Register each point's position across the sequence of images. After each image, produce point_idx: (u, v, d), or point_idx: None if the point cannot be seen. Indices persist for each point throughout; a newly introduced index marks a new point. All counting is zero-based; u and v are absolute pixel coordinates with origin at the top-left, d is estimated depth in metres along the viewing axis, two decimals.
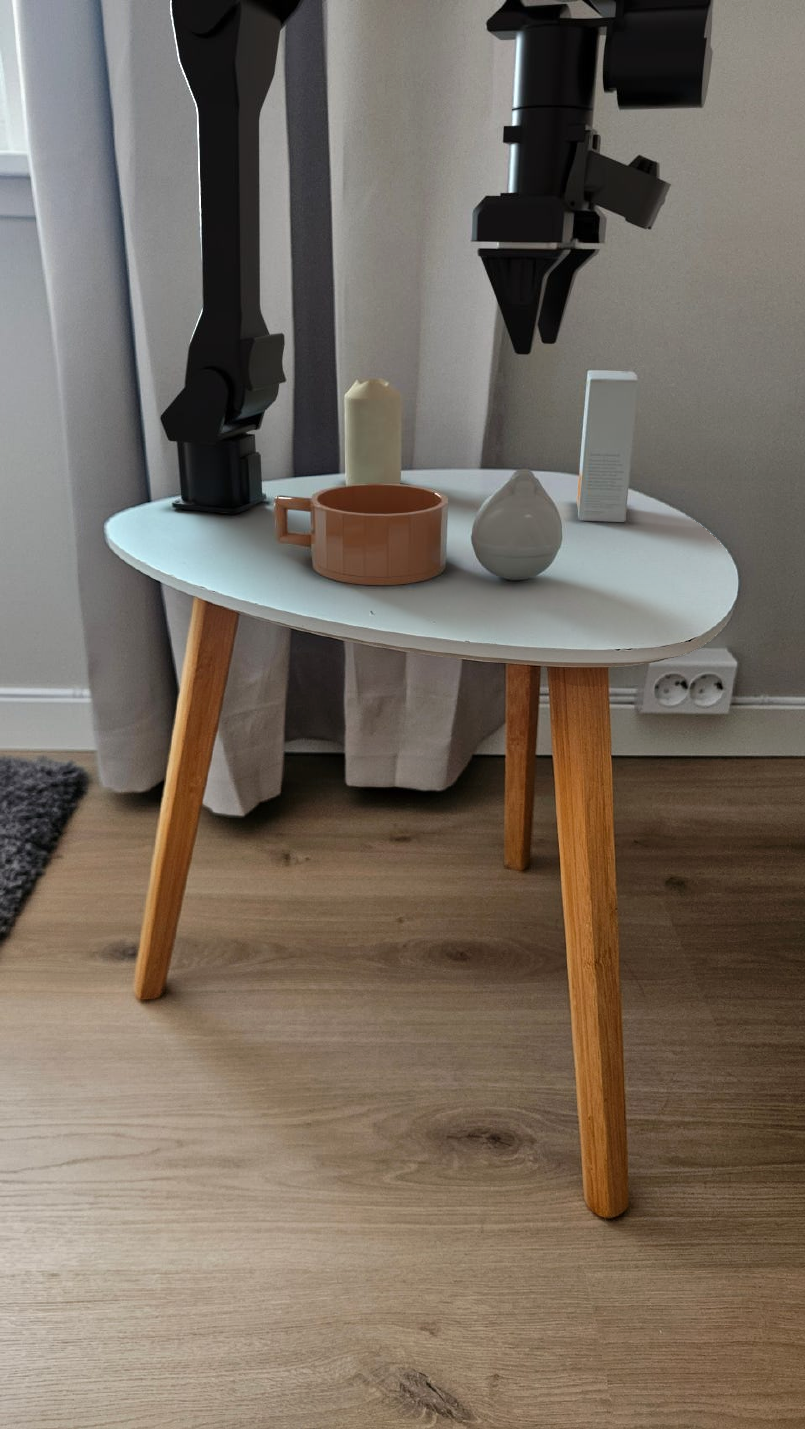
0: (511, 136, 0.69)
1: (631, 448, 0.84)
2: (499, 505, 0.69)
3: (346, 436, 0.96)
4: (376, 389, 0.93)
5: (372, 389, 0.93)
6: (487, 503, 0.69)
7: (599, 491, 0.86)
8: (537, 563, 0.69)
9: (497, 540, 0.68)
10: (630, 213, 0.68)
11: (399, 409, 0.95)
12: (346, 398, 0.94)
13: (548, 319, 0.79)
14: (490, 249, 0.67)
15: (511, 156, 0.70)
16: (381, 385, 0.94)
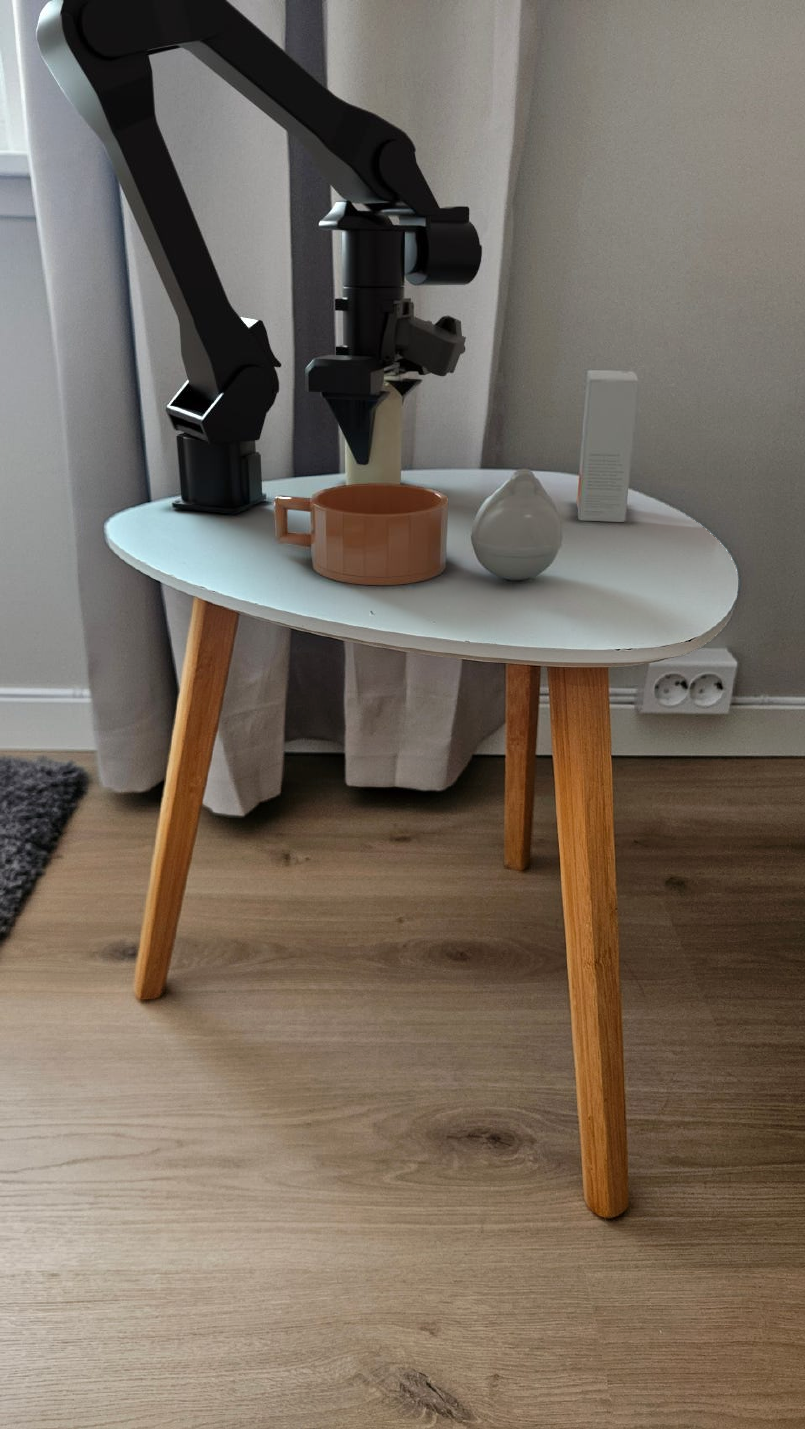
0: (340, 306, 0.91)
1: (631, 448, 0.84)
2: (499, 505, 0.69)
3: None
4: None
5: None
6: (487, 503, 0.69)
7: (599, 491, 0.86)
8: (537, 563, 0.69)
9: (497, 540, 0.68)
10: (430, 365, 0.90)
11: (399, 409, 0.95)
12: None
13: None
14: (329, 393, 0.90)
15: (343, 319, 0.92)
16: None
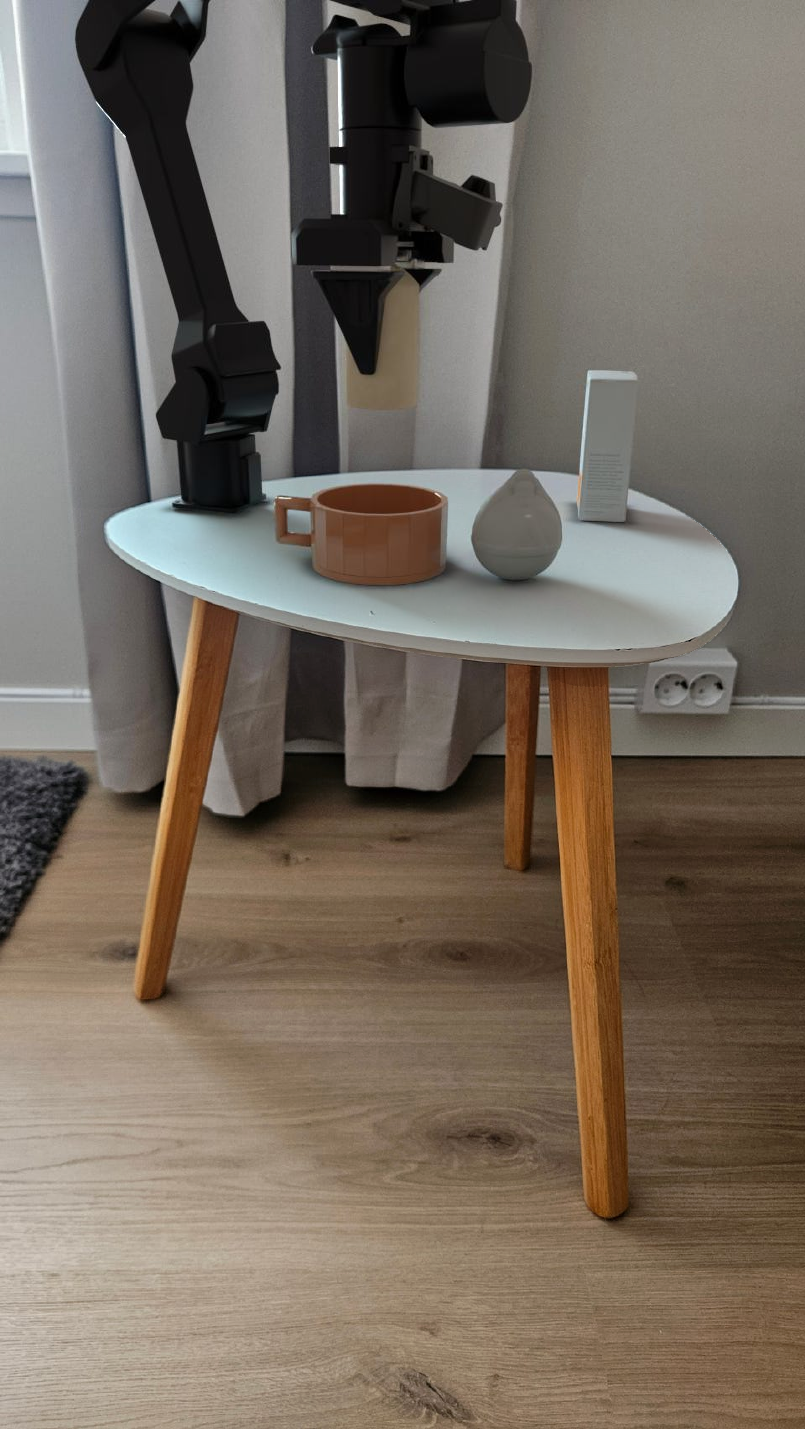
0: (337, 157, 0.68)
1: (631, 448, 0.84)
2: (499, 505, 0.69)
3: None
4: None
5: None
6: (487, 503, 0.69)
7: (599, 491, 0.86)
8: (537, 563, 0.69)
9: (497, 540, 0.68)
10: (458, 234, 0.67)
11: (416, 301, 0.72)
12: None
13: None
14: (323, 272, 0.67)
15: (340, 177, 0.69)
16: (393, 268, 0.71)
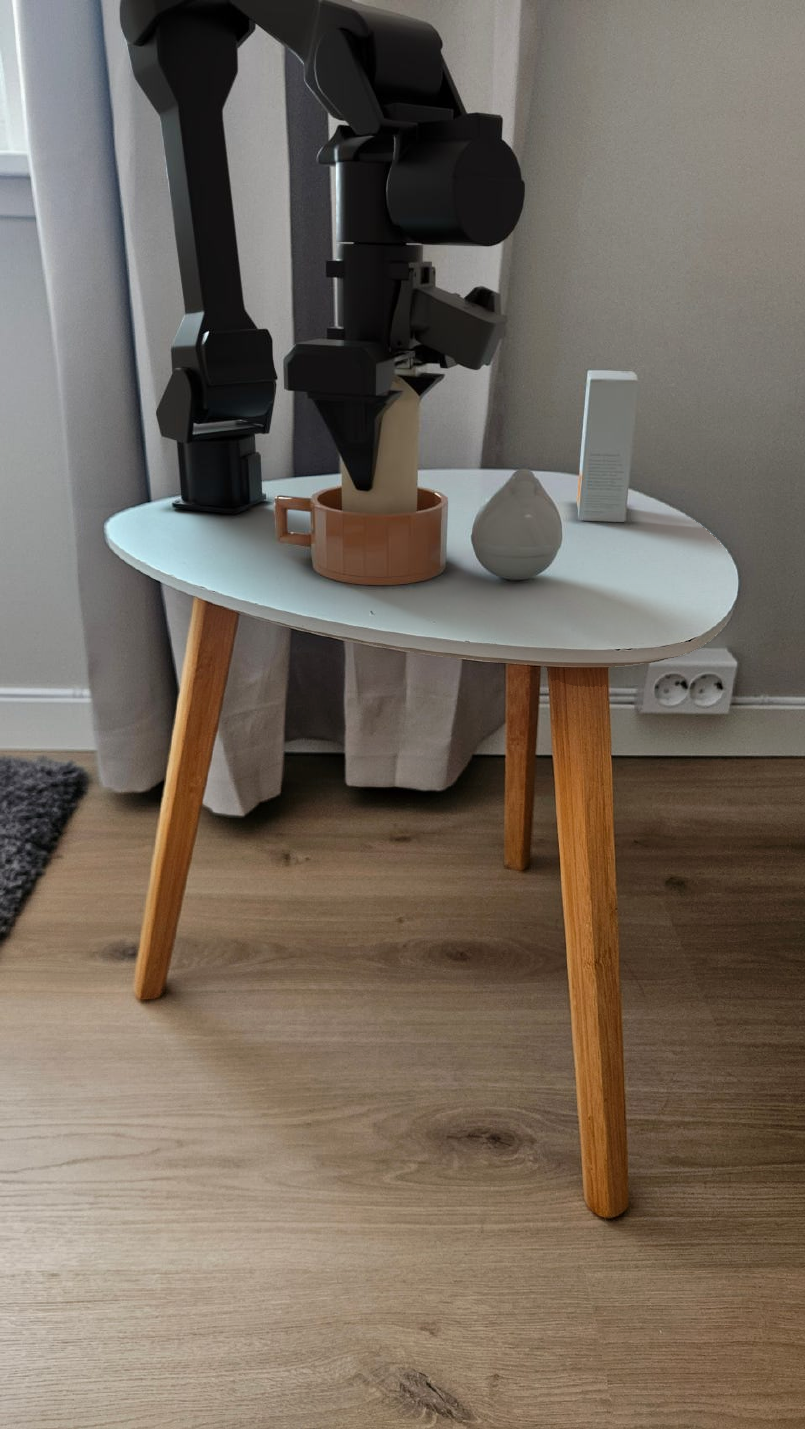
0: (334, 271, 0.65)
1: (631, 448, 0.84)
2: (499, 505, 0.69)
3: None
4: None
5: None
6: (487, 503, 0.69)
7: (599, 491, 0.86)
8: (537, 563, 0.69)
9: (497, 540, 0.68)
10: (459, 355, 0.64)
11: (416, 415, 0.69)
12: None
13: None
14: (317, 392, 0.64)
15: (337, 290, 0.66)
16: (392, 382, 0.68)
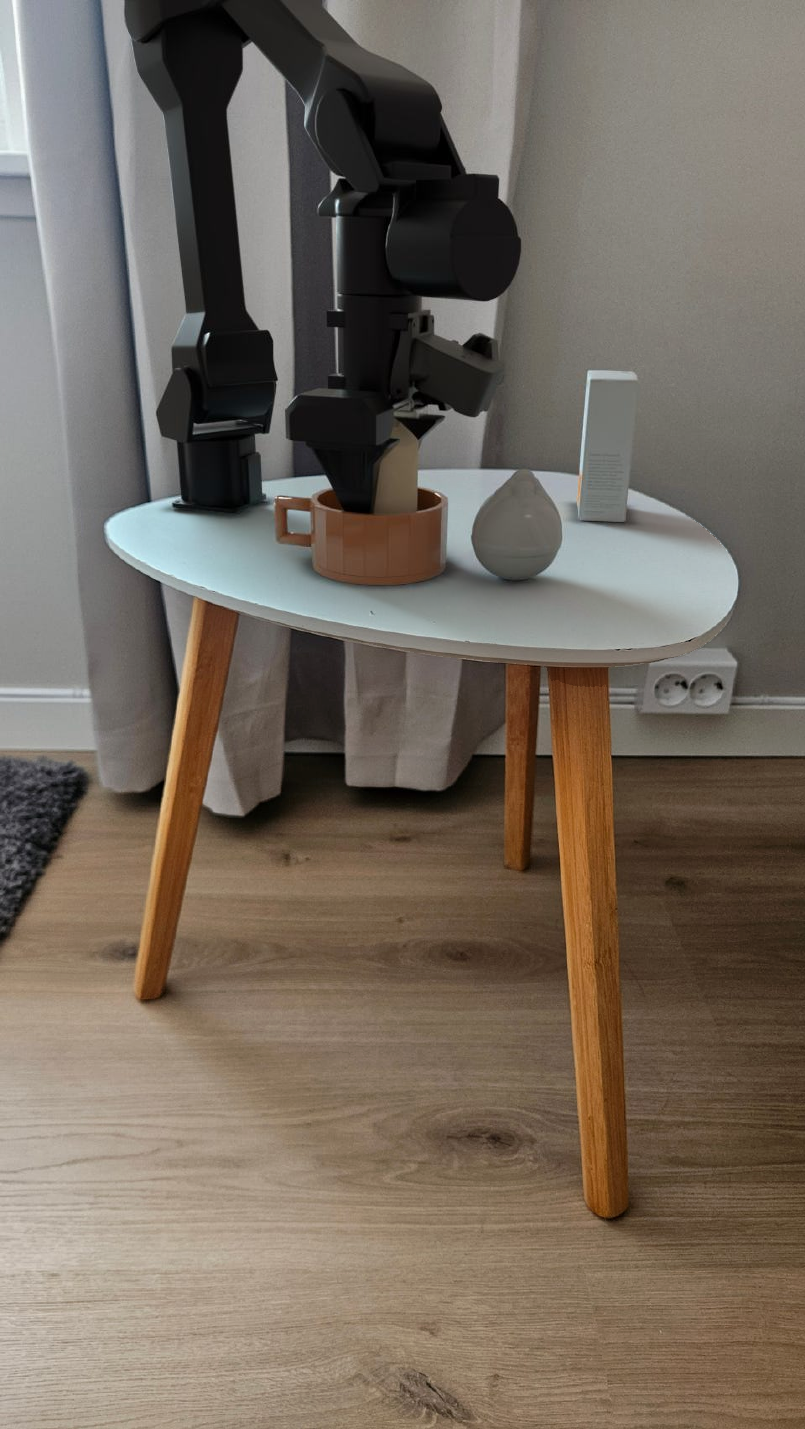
0: (335, 321, 0.66)
1: (631, 448, 0.84)
2: (499, 505, 0.69)
3: None
4: None
5: None
6: (487, 503, 0.69)
7: (599, 491, 0.86)
8: (537, 563, 0.69)
9: (497, 540, 0.68)
10: (457, 403, 0.66)
11: (415, 459, 0.70)
12: None
13: None
14: (315, 441, 0.65)
15: (338, 338, 0.67)
16: None
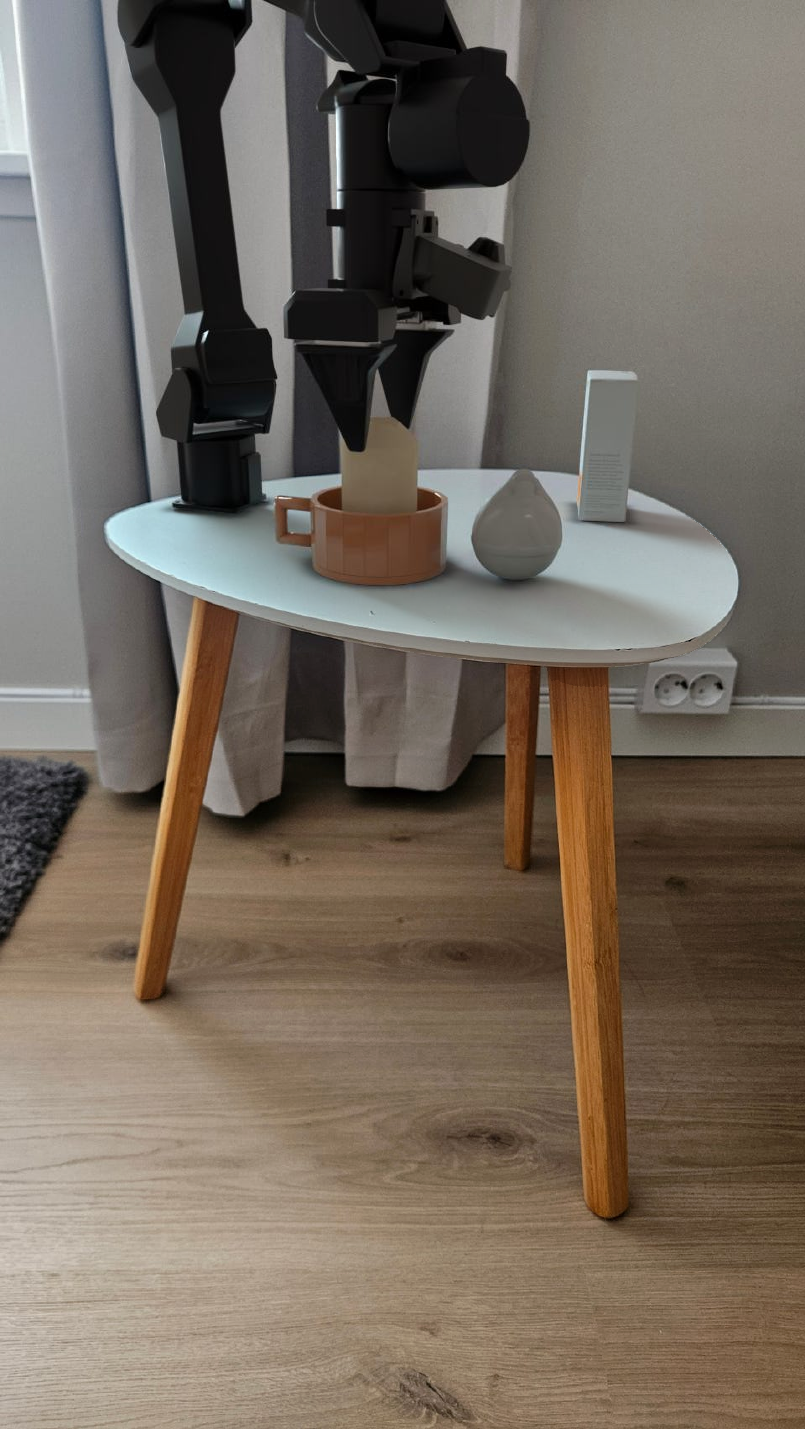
0: (335, 220, 0.63)
1: (631, 448, 0.84)
2: (499, 505, 0.69)
3: (343, 494, 0.72)
4: (384, 433, 0.69)
5: (378, 433, 0.69)
6: (487, 503, 0.69)
7: (599, 491, 0.86)
8: (537, 563, 0.69)
9: (497, 540, 0.68)
10: (463, 304, 0.63)
11: (415, 459, 0.70)
12: (343, 444, 0.70)
13: (400, 405, 0.74)
14: (307, 345, 0.61)
15: (338, 240, 0.65)
16: (391, 427, 0.69)
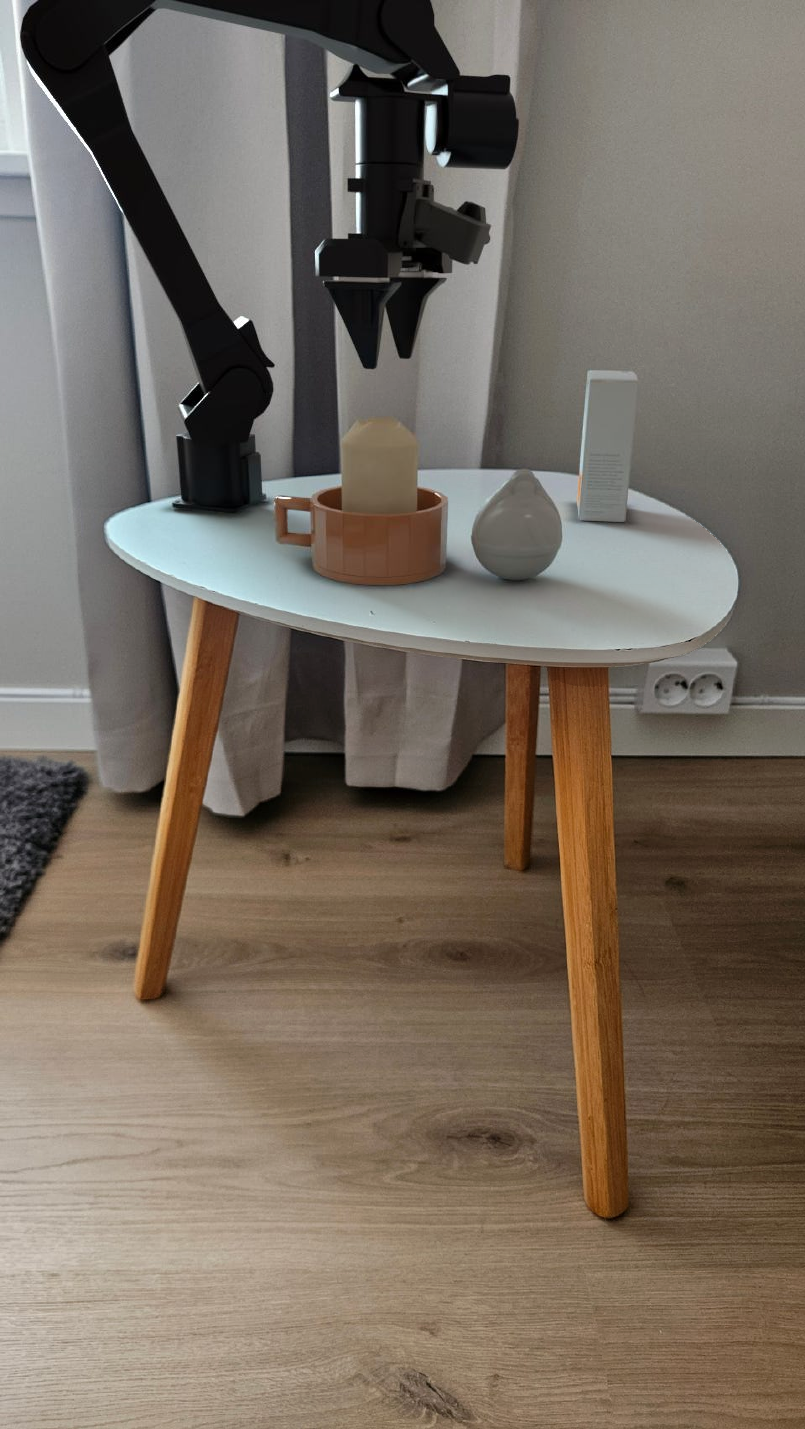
0: (354, 186, 0.82)
1: (631, 448, 0.84)
2: (499, 505, 0.69)
3: (343, 494, 0.72)
4: (384, 433, 0.69)
5: (378, 433, 0.69)
6: (487, 503, 0.69)
7: (599, 491, 0.86)
8: (537, 563, 0.69)
9: (497, 540, 0.68)
10: (452, 251, 0.82)
11: (415, 459, 0.70)
12: (343, 444, 0.70)
13: (403, 338, 0.93)
14: (332, 282, 0.80)
15: (356, 203, 0.83)
16: (391, 427, 0.69)
